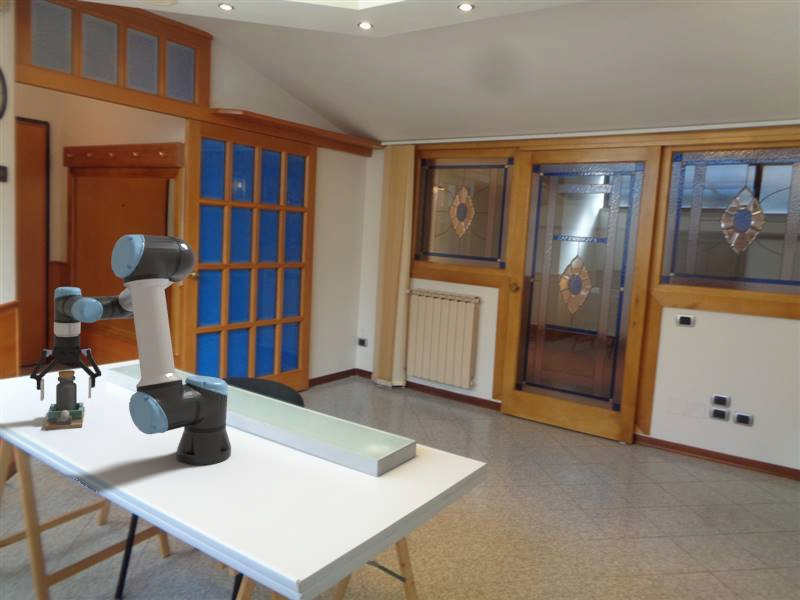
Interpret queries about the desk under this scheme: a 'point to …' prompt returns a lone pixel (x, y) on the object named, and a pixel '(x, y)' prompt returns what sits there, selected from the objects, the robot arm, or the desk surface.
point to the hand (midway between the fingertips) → (66, 398)
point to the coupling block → (65, 418)
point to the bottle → (66, 391)
